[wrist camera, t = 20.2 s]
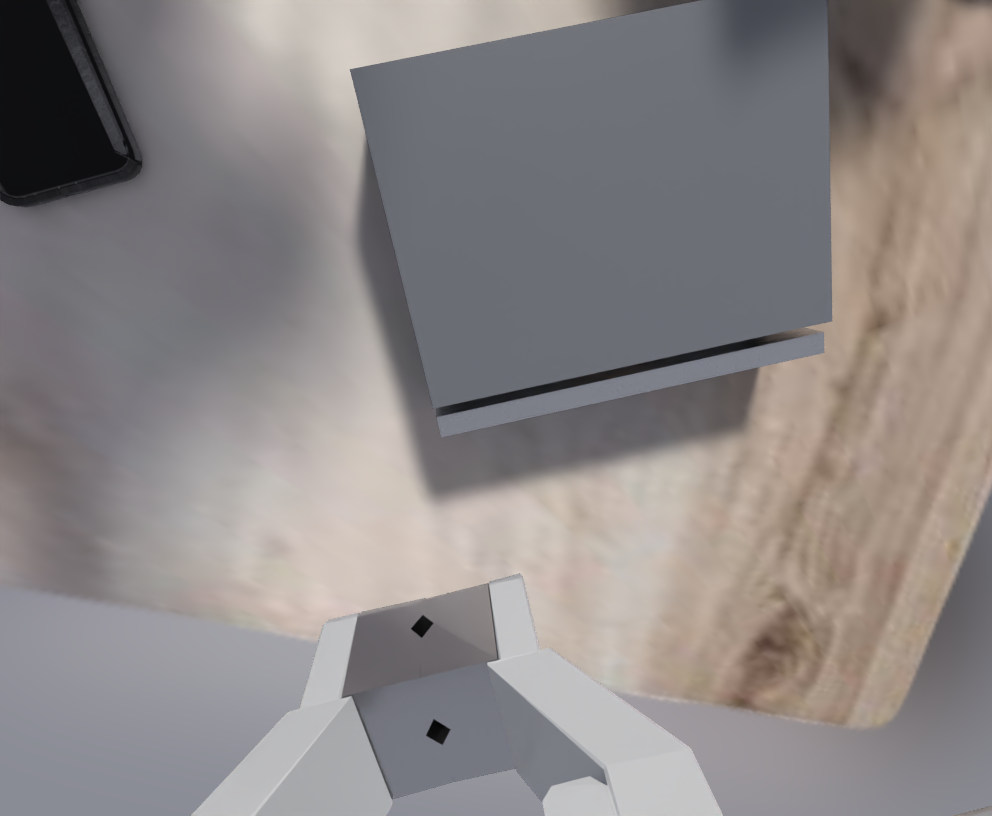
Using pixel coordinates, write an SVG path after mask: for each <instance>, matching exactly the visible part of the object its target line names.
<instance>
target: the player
mask: <svg viewBox="0 0 992 816" xmlns="http://www.w3.org/2000/svg"><path fill="white" fill-rule="evenodd" d="M350 72H351V76H352V80H353V84H354V88H355V92H356V96H357V100H358V104H359V108H360V112H361V116H362V120H363V125H364V129H365V133H366V137H367V141H368V145H369V149H370V153H371V157H372V161H373V165H374V169H375V173H376V177H377V182H378V186H379V190H380V194H381V198H382V202H383V206H384V210H385V214H386V218H387V222H388V226H389V230H390V235H391V239H392V243H393V247H394V251H395V255H396V259H397V263H398V267H399V271H400V275H401V279H402V283H403V287H404V292H405V296H406V300H407V304H408V308H409V312H410V316H411V320H412V324H413V328H414V332H415V336H416V340H417V345H418V349H419V353H420V357H421V361H422V365H423V369H424V373H425V377H426V381H427V385H428V389H429V393H430V397H431V402H432V406H433V409H434V408H439V407H443V406H448V405H452V404H457V403H462V402H466V401H471V400H475V399H480V398H484V397H489V396H494V395H498V394H503V393H507V392H512V391H516V390H521V389H525V388H530V387H535V386H539V385H544V384H548V383H553V382H557V381H562V380H566V379H571V378H576V377H580V376H585V375H589V374H594V373H598V372H603V371H607V370H612V369H617V368H621V367H626V366H630V365H635V364H639V363H644V362H648V361H653V360H658V359H662V358H667V357H671V356H676V355H680V354H685V353H689V352H694V351H699V350H703V349H708V348H712V347H717V346H721V345H726V344H730V343H735V342H740V341H744V340H749V339H753V338H758V337H762V336H767V335H771V334H776V333H781V332H785V331H790V330H794V329H799V328H803V327H808V326H812V325H817V324H822V323H826V322H831V321H832V272H831V202H830V132H829V63H828V0H700V1H695V2H690V3H685V4H680V5H675V6H669V7H664V8H659V9H654V10H649V11H644V12H639V13H634V14H629V15H624V16H619V17H614V18H609V19H603V20H598V21H593V22H588V23H583V24H578V25H573V26H568V27H563V28H558V29H553V30H548V31H543V32H538V33H532V34H527V35H522V36H517V37H512V38H507V39H502V40H497V41H492V42H487V43H482V44H477V45H472V46H466V47H461V48H456V49H451V50H446V51H441V52H436V53H431V54H426V55H421V56H416V57H411V58H406V59H400V60H395V61H390V62H385V63H380V64H375V65H370V66H365V67H360V68H355V69H350Z"/></svg>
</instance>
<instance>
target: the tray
mask: <svg viewBox="0 0 992 816" xmlns="http://www.w3.org/2000/svg"><path fill="white" fill-rule="evenodd" d="M821 353H824V332H822V331H817V330H813V329H809V328H804V327H803V328H799V329H794V330H790V331H785V332H781V333H776V334H771V335H767V336H762V337H758V338H753V339H749V340H744V341H740V342H735V343H730V344H726V345H721V346H717V347H712V348H708V349H703V350H699V351H694V352H689V353H685V354H680V355H676V356H671V357H667V358H662V359H658V360H653V361H648V362H644V363H639V364H635V365H630V366H626V367H621V368H617V369H612V370H607V371H603V372H598V373H594V374H589V375H585V376H580V377H576V378H571V379H566V380H562V381H557V382H553V383H548V384H544V385H539V386H535V387H530V388H525V389H521V390H516V391H512V392H507V393H503V394H498V395H494V396H489V397H484V398H480V399H475V400H471V401H466V402H462V403H457V404H452V405H448V406H443V407H439V408H437V414H436V418H437V422H438V426H439V430H440V434H441V438H442V437H446V436H451V435H455V434H460V433H464V432H469V431H473V430H478V429H482V428H487V427H491V426H496V425H500V424H505V423H509V422H514V421H518V420H523V419H527V418H532V417H536V416H541V415H546V414H550V413H555V412H559V411H564V410H568V409H573V408H577V407H582V406H586V405H591V404H595V403H600V402H604V401H609V400H613V399H618V398H622V397H627V396H631V395H636V394H640V393H645V392H649V391H654V390H658V389H663V388H667V387H672V386H677V385H681V384H686V383H690V382H695V381H699V380H704V379H708V378H713V377H717V376H722V375H726V374H731V373H735V372H740V371H744V370H749V369H753V368H758V367H762V366H767V365H771V364H776V363H780V362H785V361H789V360H794V359H798V358H803V357H807V356H812V355H817V354H821Z"/></svg>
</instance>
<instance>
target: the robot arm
mask: <svg viewBox="0 0 992 816" xmlns="http://www.w3.org/2000/svg"><path fill="white" fill-rule="evenodd" d="M511 769H516V770H517V772H518V774H519V775H520V776H521V777H522V778H523V780H524V781H525V782H526V783H527V785H528V786H529V787H530V788H531V790H532V791H533V792H534V793H535V794H536V796H537V797H538V798H539V799H540V801H541V802H542V803H543V807H544V813H545V816H723V815H722V813H721V810H720V808H719V806H718V804H717V802H716V800H715V798H714V796H713V794H712V792H711V790H710V788H709V786H708V783H707V781H706V779H705V777H704V775H703V773H702V771H701V769H700V767H699V765H698V762H697V761H696V758H695V756H694V754H693V752H692V750H691V748H690V747H688V746H687V745H685V744H684V743H683V742H681V741H680V740H678V739H677V738H676V737H674V736H672V735H671V734H670V733H668V732H667V731H666V730H664V729H663V728H662V727H660V726H659V725H657V724H656V723H655V722H653V721H652V720H650V719H649V718H648V717H646V716H645V715H644V714H642V713H641V712H639V711H638V710H636V709H635V708H634V707H632V706H631V705H630V704H628V703H627V702H625V701H624V700H622V699H621V698H620V697H618V696H617V695H616V694H614V693H613V692H611V691H610V690H609V689H607V688H606V687H604V686H603V685H602V684H600V683H599V682H597V681H596V680H595V679H593V678H592V677H590V676H589V675H588V674H586V673H585V672H584V671H582V670H581V669H579V668H578V667H577V666H575V665H574V664H572V663H571V662H570V661H568V660H567V659H565V658H564V657H563V656H561V655H560V654H558V653H557V652H556V651H554V650H553V649H551V648H547V649H543V650H540V647H539V643H538V638H537V634H536V630H535V626H534V621H533V617H532V613H531V609H530V605H529V600H528V596H527V592H526V588H525V584H524V579H523V576H522V575H521V574H516V575H512V576H509V577H505V578H501V579H498V580H494V581H490V582H489V583H487V584H483V585H479V586H475V587H471V588H467V589H463V590H459V591H455V592H451V593H447V594H442V595H438V596H434V597H430V598H423V599H419V600H414V601H409V602H405V603H400V604H396V605H391V606H386V607H382V608H377V609H373V610H368V611H363V612H361V613H355V614H351V615H346V616H342V617H338V618H334V619H329V620H328V621H327V622H326V623H325V624H324V625H323V627H322V630H321V634H320V637H319V641H318V644H317V648H316V651H315V655H314V658H313V662H312V665H311V668H310V672H309V675H308V679H307V682H306V686H305V689H304V693H303V696H302V700H301V703H300V707H299V709H297V710H293V711H289V712H287V713H286V715H285V716H284V717H283V718H282V719H281V720H280V721H279V722H278V723H277V724H276V725H275V726H274V727H273V729H272V730H271V731H270V732H269V733H268V734H267V735H266V736H265V737H264V738H263V739H262V740H261V741H260V742H259V743H258V744H257V745H256V747H255V748H254V749H253V750H252V751H251V752H250V753H249V754H248V755H247V756H246V757H245V759H243V760H242V761H241V763H240V764H239V765H238V766H237V767H236V768H235V769H234V770H233V771H232V772H231V773H230V774H229V775H228V777H226V779H225V780H224V781H223V782H222V783H221V784H220V785H219V786H218V787H217V788H216V789H215V790H214V791H213V792H212V793H211V794H210V796H209V797H208V798H207V799H206V800H205V801H204V802H203V803H202V804H201V805H200V806H199V807H198V808H197V809H196V811H195V812H194V813H193V814H192V815H191V816H387V814H388V812H389V810H390V808H391V806H392V805H393V802H392V799H395V798H399V797H402V796H406V795H409V794H413V793H416V792H420V791H423V790H427V789H430V788H434V787H438V786H441V785H445V784H448V783H452V782H456V781H460V780H465V779H470V778H474V777H479V776H484V775H488V774H493V773H497V772H502V771H507V770H511ZM954 816H992V806H989V807H985V808H981V809H977V810H973V811H969V812H965V813H962V814H958V815H954Z"/></svg>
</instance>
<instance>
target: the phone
mask: <svg viewBox="0 0 992 816" xmlns="http://www.w3.org/2000/svg"><path fill="white" fill-rule="evenodd" d="M141 168H142V156H141V153H140V150H139V148H138V145H137V143H136V141H135V138H134V136H133V134H132V131H131V129H130V126H129V124H128V122H127V119H126V117H125V115H124V112H123V110H122V108H121V105H120V103H119V100H118V98H117V96H116V93H115V91H114V89H113V86H112V84H111V81H110V79H109V77H108V74H107V72H106V70H105V67H104V65H103V63H102V60H101V58H100V55H99V53H98V51H97V48H96V46H95V44H94V41H93V39H92V37H91V34H90V32H89V29H88V27H87V25H86V22H85V20H84V18H83V15H82V13H81V11H80V8H79V6H78V3H77V1H76V0H0V200H1V201H3V202H5V203H7V204H9V205H14V206H22V207H30V206H36V205H39V204H43V203H47V202H50V201H54V200H58V199H61V198H65V197H69V196H72V195H76V194H80V193H83V192H87V191H91V190H94V189H98V188H102V187H105V186H109V185H113V184H116V183H120V182H124V181H127V180H130V179H132V178H135V177H136V176H137V175H138V174H139V173H140V170H141Z"/></svg>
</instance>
